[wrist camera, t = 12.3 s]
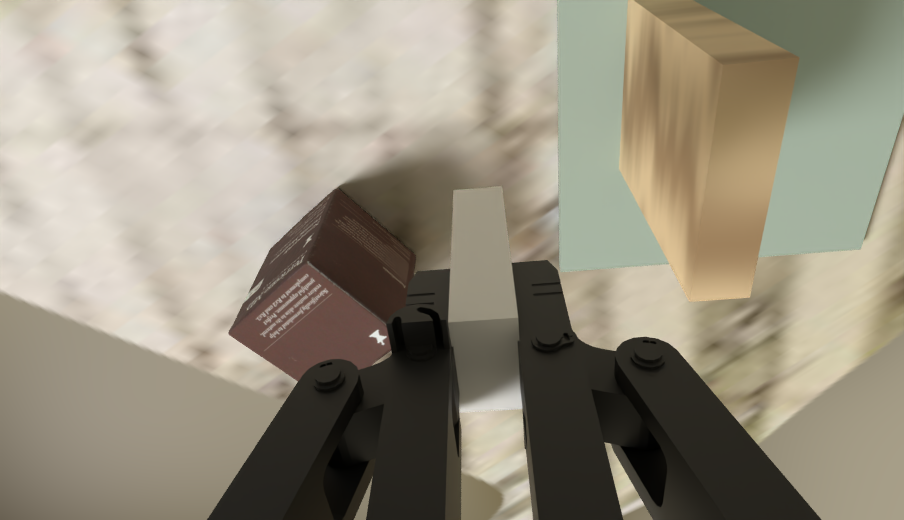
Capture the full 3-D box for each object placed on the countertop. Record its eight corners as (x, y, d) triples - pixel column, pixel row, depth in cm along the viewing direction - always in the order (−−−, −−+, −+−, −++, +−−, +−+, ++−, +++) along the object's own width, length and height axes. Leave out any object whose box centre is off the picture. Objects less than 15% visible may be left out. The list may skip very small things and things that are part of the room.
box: (338, 182, 31) (308, 258, 25) (419, 254, 33) (410, 340, 27) (267, 249, 33) (223, 334, 27) (348, 312, 36) (323, 403, 29)
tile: (628, -4, 25) (722, 65, 16) (679, -10, 25) (805, 56, 16) (619, 168, 30) (689, 301, 20) (662, 165, 29) (754, 297, 20)
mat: (555, -168, 23) (557, -169, 22) (998, -225, 22) (1011, -227, 21) (559, 266, 33) (560, 272, 33) (854, 243, 32) (860, 249, 32)
